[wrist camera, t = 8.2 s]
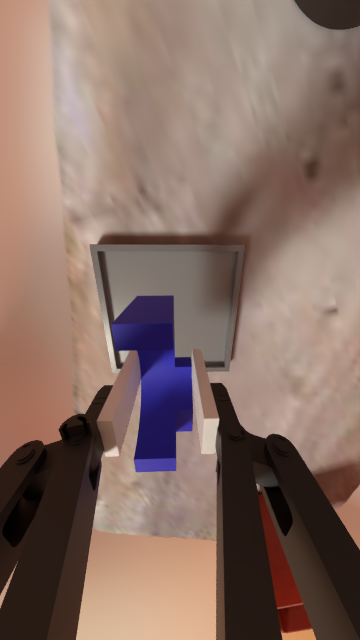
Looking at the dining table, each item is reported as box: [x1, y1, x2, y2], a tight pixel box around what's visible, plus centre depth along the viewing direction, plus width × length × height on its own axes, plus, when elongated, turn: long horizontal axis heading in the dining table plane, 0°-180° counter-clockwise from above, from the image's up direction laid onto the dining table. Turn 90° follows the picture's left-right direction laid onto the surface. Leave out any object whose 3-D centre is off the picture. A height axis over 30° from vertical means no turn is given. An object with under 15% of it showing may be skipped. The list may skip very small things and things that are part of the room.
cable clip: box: [111, 295, 193, 472], centre depth 13 cm, size 12×4×6 cm, turn 0°
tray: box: [90, 244, 246, 373], centre depth 26 cm, size 20×20×2 cm
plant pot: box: [258, 494, 312, 633], centre depth 41 cm, size 19×19×17 cm
